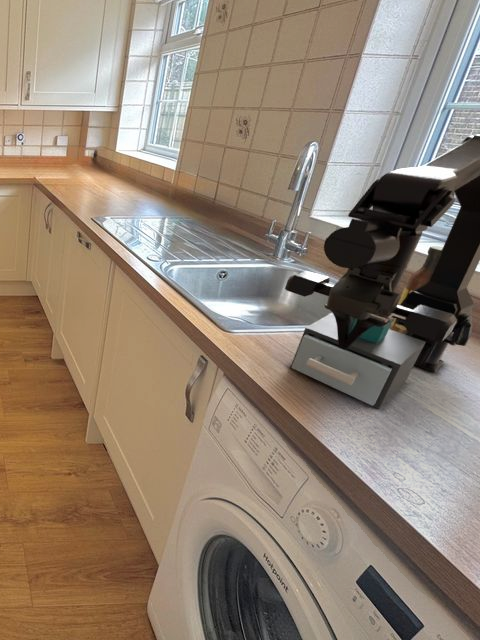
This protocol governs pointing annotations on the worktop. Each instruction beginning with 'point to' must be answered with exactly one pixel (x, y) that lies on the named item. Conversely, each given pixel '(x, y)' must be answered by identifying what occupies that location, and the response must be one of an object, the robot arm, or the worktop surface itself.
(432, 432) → the worktop surface
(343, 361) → the dispenser drawer
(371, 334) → the teal cube white top
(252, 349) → the worktop surface
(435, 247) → the sauce bottle
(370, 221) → the robot arm
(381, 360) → the grey drawer box
